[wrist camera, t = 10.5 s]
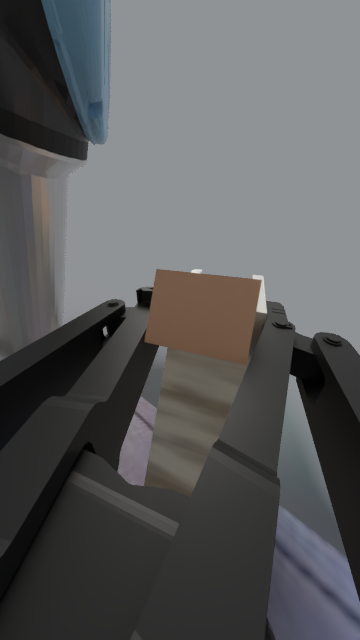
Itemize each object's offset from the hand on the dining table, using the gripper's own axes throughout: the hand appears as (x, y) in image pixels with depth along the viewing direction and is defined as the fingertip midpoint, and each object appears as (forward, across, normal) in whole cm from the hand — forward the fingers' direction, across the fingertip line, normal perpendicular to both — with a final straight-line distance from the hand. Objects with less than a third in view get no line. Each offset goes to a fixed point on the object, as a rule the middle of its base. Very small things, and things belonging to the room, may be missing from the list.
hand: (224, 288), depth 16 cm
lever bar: (+3, 0, -7) cm, 7 cm away
